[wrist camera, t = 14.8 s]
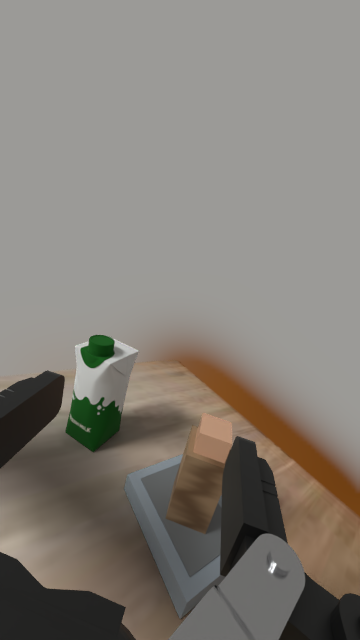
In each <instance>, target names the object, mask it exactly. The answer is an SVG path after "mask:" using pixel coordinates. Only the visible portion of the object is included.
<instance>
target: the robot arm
mask: <svg viewBox="0 0 360 640" xmlns="http://www.w3.org/2000/svg"><path fill="white" fill-rule="evenodd" d="M64 381H65V378H64V376H62V375H59V374H56V373H53V372H51V371H45V372H43V373H42V374H40V375H39V376H37V377H36V378H32V377H31V378H28V379H25V380H22V381H18V382H17V383H15V384H13V385H12V386H10V387H8V388H7V390H6V389H5V390H3V391H2V392H0V468H1V467H3V466H4V465H5V464H6V463H7V462H8V461H9V460H10V459H11V458H12V457H13V456H14V455H15V454H16V453H17V452H19V451H20V450H21V449H22V448H23V447H24V446H25V445H26V444H27V443H28V442H29V441H30V440H31V439H32V438H33V437H35V436H36V435H37V434H38V433H39V432H40V431H41V430H42V429H43V428H44V427H45V426H46V425H47V424H48V423H49V422H51V421H52V420H53V419H54V418H55V417H56V415H57V414H58V412H59V410H60V408H61V404H62V397H63V389H64ZM277 496H278V495H277V490H276V487H275V481H274V476H273V472H272V470H271V468H270V467H269V465H268V463H267V462H266V460H265V459H262V458H259V457H257V450H256V444H255V442H253V441H250V440H247V439H244V438H241V437H238V436H237V437H236V438H235V440H234V443H233V446H232V448H231V451H230V453H229V456H228V458H227V461H226V464H225V467H224V471H223V477H222V508H221V549H220V575H222V576H224V577H225V578H224V580H223V581H222V582H221V583H220V584H219V585H218V586H216V585H215V586H213V587H212V588H211V589H210V590H209V591H208V592H207V593H206V595H205V596H204V597H203V598H202V599H201V601H200V602H199V603H198V604H197V605H196V607H195V608H194V609H193V610H192V611H191V613H190V614H189V615H188V616H187V617H186V619H185V620H184V621H183V622H182V624H181V625H180V626H179V627H178V628H177V630H176V631H175V632H174V633H173V634H172V636H171V637H170V638H169V639H168V640H360V596H358V595H356V594H351V593H349V594H345V595H343V597H342V598H341V599H340V600H338V599H337V598H336V597H334V596H333V595H332V594H330V593H329V592H328V591H326V590H325V589H324V588H322V587H321V586H320V585H318V584H317V583H316V582H315V581H313V580H312V579H311V578H310V577H309V576H308V575H307V574H306V573H305V572H304V569H303V567H302V564H301V562H300V560H299V558H298V556H297V555H296V553H295V552H294V550H293V549H292V548H291V547H290V546H289V545H288V543H287V539H286V534H285V529H284V524H283V519H282V514H281V510H280V505H279V500H278V498H277ZM125 608H126V607H124V606H122V605H119V604H117V603H115V602H112V601H110V600H108V599H106V598H103V597H101V596H99V595H97V594H94V593H92V592H90V591H77V590H60V589H47V588H45V587H43V586H42V585H41V584H40V583H39V582H38V581H37V580H36V579H35V578H34V577H33V576H32V575H31V574H30V573H29V571H28V570H27V569H26V568H25V567H24V566H23V565H22V564H21V563H20V562H19V561H18V560H17V559H15V558H13V557H10V556H8V555H6V554H4V553H1V552H0V640H136V639H135V638H134V637H133V635H132V634H131V633H130V631H129V630H128V629H127V628H126V627H125V626H124V625H123V624H122V623H121V622H122V618H123V615H124V611H125Z"/></svg>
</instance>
